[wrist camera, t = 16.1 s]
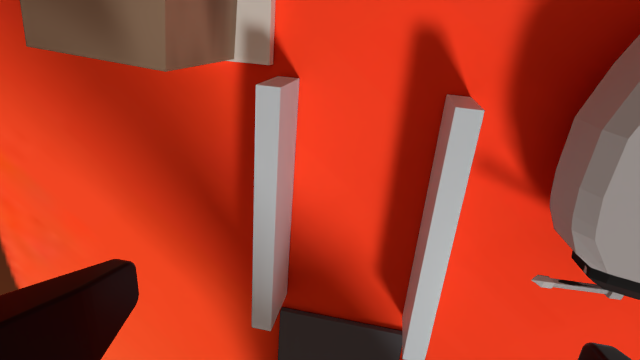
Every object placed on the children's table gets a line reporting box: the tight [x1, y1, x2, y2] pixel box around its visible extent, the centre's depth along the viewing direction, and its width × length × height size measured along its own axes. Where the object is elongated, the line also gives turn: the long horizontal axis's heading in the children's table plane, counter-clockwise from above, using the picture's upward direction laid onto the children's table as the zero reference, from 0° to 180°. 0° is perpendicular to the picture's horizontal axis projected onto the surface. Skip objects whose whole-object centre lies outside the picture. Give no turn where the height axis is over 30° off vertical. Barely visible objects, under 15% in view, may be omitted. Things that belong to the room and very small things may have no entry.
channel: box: [252, 76, 485, 360], centre depth 18 cm, size 12×8×3 cm
